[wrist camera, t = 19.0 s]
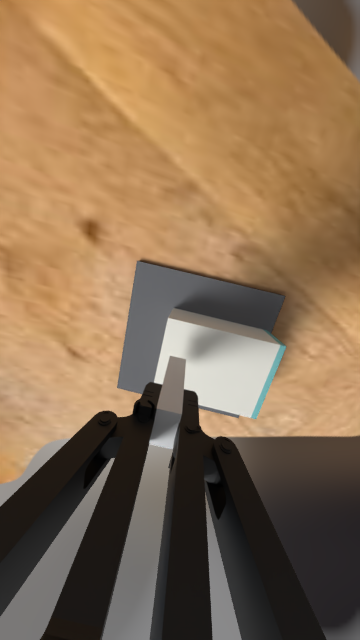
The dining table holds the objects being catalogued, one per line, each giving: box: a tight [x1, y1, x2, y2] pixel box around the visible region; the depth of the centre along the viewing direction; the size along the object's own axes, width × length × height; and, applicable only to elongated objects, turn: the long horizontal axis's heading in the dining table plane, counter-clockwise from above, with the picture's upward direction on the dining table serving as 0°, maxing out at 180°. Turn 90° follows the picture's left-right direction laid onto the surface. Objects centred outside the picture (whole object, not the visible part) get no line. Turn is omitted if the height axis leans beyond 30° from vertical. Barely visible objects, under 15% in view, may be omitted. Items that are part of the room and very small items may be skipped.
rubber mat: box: [117, 261, 285, 418], centre depth 25 cm, size 18×18×1 cm
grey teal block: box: [154, 308, 286, 419], centre depth 22 cm, size 9×5×12 cm
